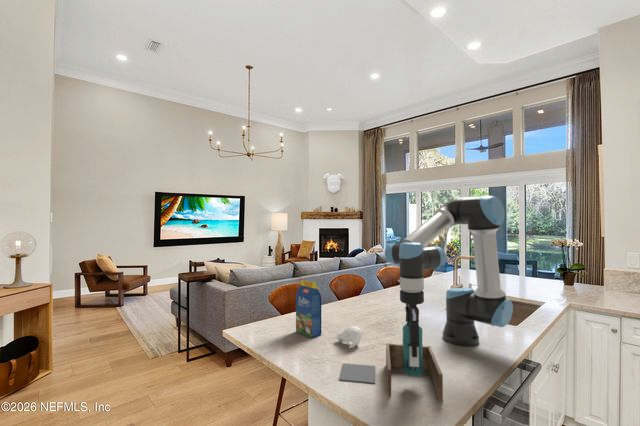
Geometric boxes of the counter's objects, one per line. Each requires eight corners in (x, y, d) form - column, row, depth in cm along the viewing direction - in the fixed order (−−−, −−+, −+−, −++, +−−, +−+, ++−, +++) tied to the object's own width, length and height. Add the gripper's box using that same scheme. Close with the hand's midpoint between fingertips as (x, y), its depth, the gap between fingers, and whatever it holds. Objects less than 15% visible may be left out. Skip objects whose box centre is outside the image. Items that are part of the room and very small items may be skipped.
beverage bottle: (419, 371, 103) (418, 311, 104) (427, 381, 97) (425, 317, 97) (400, 371, 103) (399, 311, 103) (406, 382, 96) (405, 318, 97)
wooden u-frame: (430, 368, 112) (430, 346, 112) (442, 401, 92) (442, 374, 92) (386, 364, 115) (386, 343, 115) (388, 396, 95) (387, 369, 95)
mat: (375, 367, 113) (375, 365, 113) (375, 383, 102) (375, 382, 102) (343, 364, 116) (343, 363, 116) (339, 380, 104) (339, 379, 104)
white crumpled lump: (353, 329, 128) (332, 325, 136) (355, 350, 128) (333, 345, 136) (362, 325, 133) (341, 322, 141) (364, 345, 132) (342, 341, 140)
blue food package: (311, 338, 141) (311, 284, 142) (295, 331, 150) (295, 280, 151) (321, 335, 146) (321, 282, 146) (305, 328, 154) (305, 278, 155)
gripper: (397, 283, 111) (399, 347, 110) (402, 296, 92) (403, 374, 91) (419, 284, 109) (420, 349, 109) (428, 297, 90) (430, 377, 90)
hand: (412, 360), depth 100 cm, fingers closed on beverage bottle, 6 cm apart
